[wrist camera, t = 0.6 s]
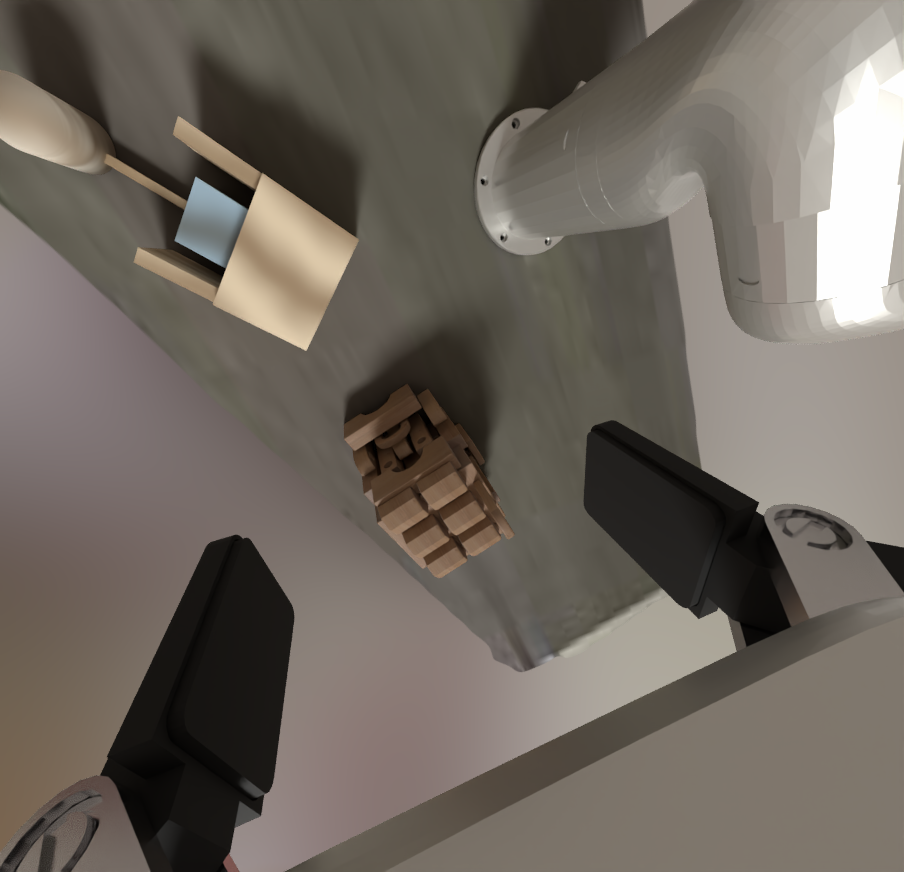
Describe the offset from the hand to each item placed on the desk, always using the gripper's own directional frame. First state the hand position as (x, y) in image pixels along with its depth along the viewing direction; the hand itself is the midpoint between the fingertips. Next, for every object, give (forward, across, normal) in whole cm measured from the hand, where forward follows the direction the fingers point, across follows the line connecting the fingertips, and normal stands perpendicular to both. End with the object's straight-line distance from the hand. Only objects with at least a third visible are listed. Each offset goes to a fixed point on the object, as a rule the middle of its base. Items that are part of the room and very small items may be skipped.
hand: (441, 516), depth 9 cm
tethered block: (+34, +12, -13) cm, 38 cm away
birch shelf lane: (+34, +8, -9) cm, 35 cm away
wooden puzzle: (+34, -3, +20) cm, 39 cm away
